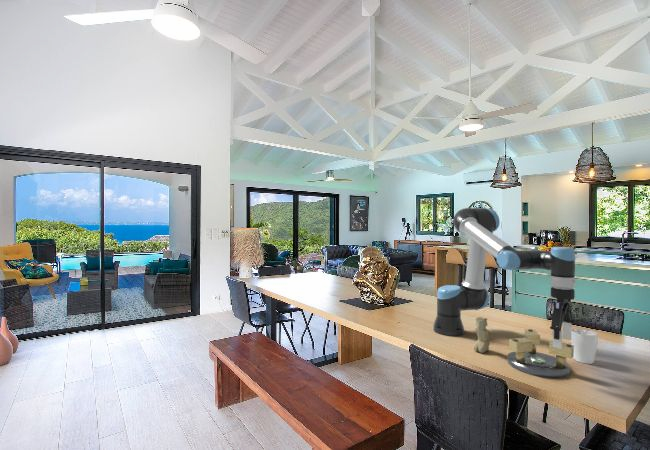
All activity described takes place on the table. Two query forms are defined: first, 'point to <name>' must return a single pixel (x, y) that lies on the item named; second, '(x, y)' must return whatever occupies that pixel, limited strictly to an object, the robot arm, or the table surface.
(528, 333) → the beige blocky piece
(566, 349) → the knob right
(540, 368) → the plate
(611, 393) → the table surface
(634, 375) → the table surface
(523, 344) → the knob left
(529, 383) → the table surface
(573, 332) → the cup
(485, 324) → the sculpture
